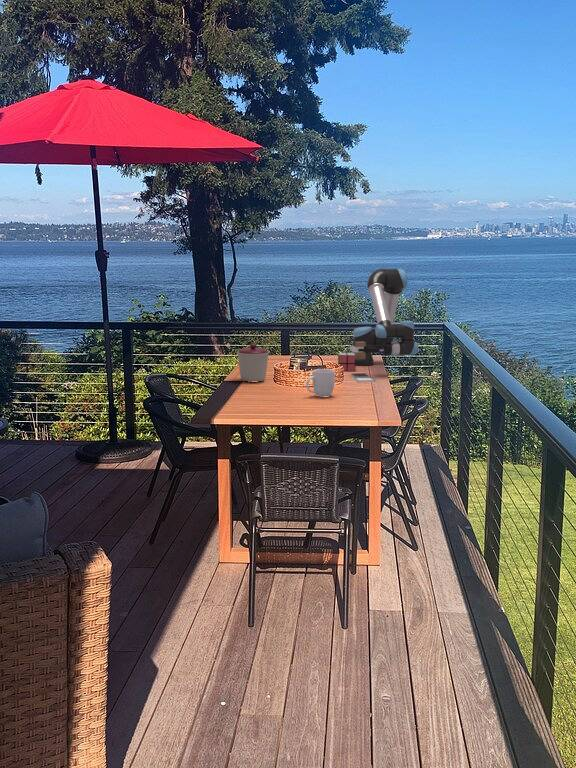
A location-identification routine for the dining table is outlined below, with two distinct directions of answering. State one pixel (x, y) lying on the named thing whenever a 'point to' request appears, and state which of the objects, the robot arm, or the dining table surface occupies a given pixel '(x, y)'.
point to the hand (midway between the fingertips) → (351, 349)
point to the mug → (322, 382)
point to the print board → (364, 379)
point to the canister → (253, 363)
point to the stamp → (360, 354)
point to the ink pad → (358, 375)
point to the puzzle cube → (347, 361)
